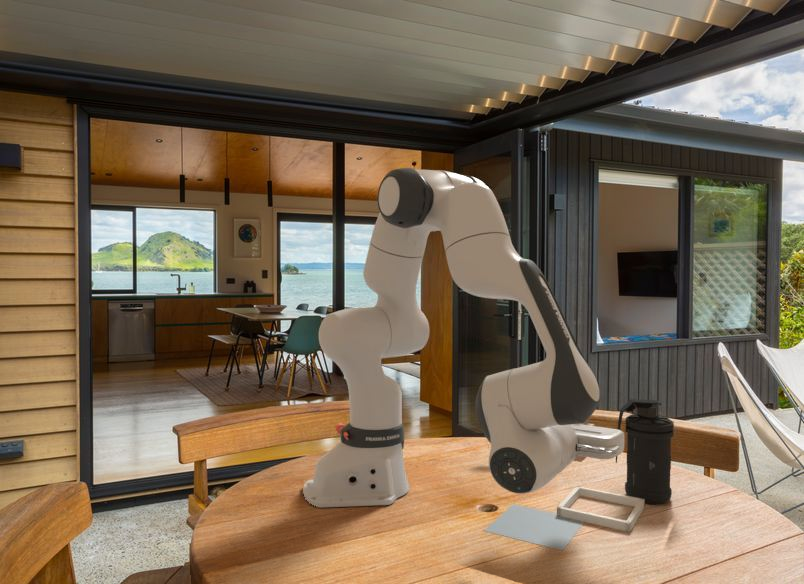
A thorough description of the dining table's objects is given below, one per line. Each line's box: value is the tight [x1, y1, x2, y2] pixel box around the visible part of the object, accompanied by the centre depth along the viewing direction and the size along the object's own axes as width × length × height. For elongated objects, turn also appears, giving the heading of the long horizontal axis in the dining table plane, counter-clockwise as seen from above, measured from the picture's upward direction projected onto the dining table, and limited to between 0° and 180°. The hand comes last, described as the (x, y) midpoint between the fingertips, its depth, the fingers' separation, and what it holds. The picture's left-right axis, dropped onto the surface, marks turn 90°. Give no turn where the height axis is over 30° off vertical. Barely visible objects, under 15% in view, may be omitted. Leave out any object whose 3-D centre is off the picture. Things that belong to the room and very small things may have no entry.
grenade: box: [615, 398, 675, 505], centre depth 125 cm, size 9×11×20 cm
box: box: [556, 485, 646, 533], centre depth 114 cm, size 13×13×3 cm
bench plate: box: [482, 503, 585, 551], centre depth 108 cm, size 14×14×2 cm
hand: (574, 425), depth 111 cm, fingers closed on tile, 4 cm apart
